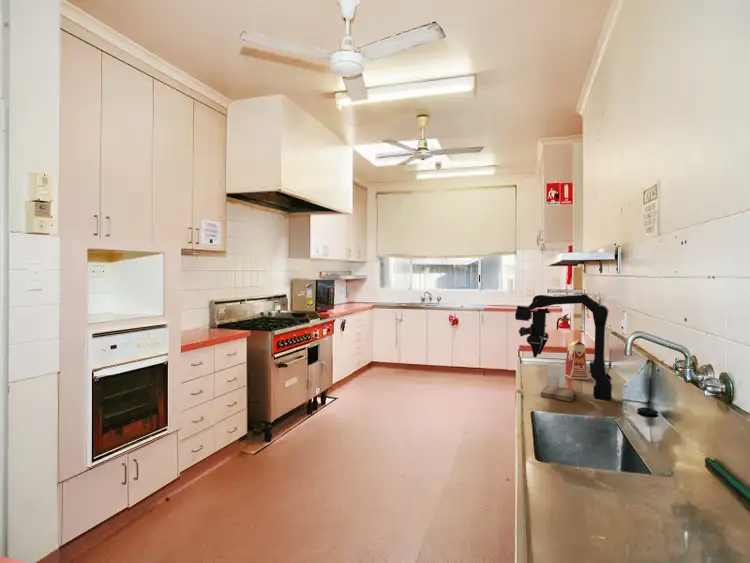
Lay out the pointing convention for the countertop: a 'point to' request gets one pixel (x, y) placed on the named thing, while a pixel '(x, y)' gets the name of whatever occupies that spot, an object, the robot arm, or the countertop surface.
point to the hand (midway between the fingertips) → (537, 355)
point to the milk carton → (576, 361)
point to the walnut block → (558, 393)
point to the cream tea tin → (556, 375)
